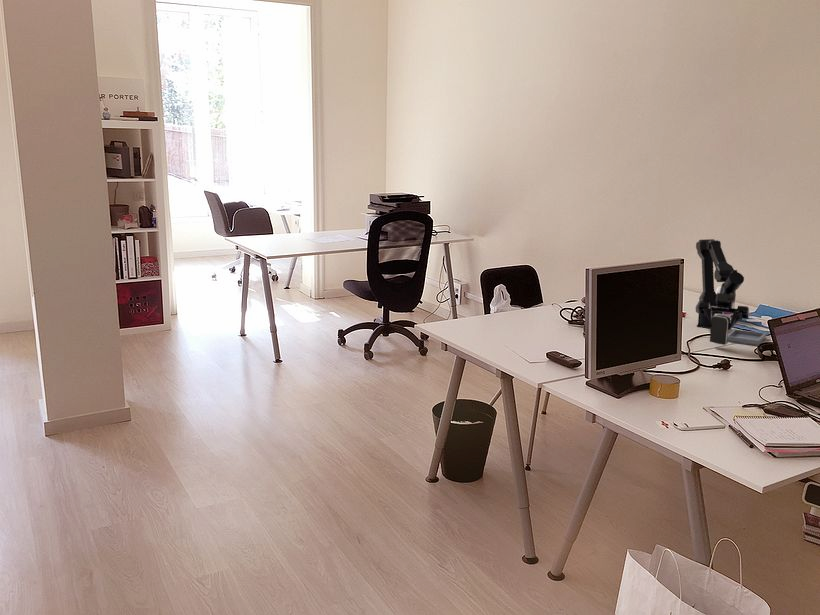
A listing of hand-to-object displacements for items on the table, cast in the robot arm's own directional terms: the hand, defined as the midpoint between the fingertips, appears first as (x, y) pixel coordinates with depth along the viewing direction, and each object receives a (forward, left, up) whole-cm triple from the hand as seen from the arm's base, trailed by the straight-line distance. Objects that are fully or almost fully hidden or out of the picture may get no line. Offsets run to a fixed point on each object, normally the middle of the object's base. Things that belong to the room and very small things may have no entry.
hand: (719, 328), depth 279 cm
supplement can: (-11, +48, -9) cm, 50 cm away
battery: (0, +1, -7) cm, 7 cm away
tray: (+6, +18, -9) cm, 21 cm away
